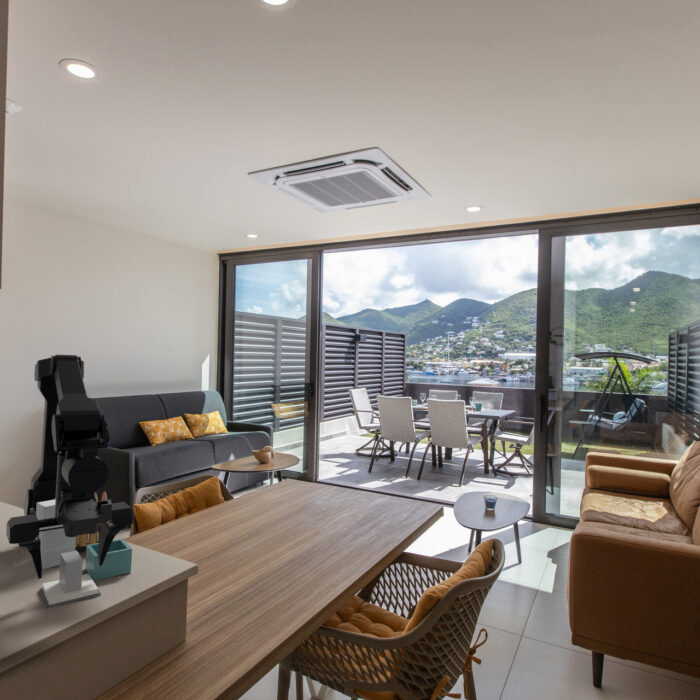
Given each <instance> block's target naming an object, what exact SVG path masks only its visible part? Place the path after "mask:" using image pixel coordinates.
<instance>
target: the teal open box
mask: <svg viewBox="0 0 700 700" xmlns="http://www.w3.org/2000/svg"><path fill="white" fill-rule="evenodd" d="M98 549H99V543H95V544H90V545H86V552H85V569H84V570H85V571H86V572H87V574H89V575H90V577H91V578H92V580H93V581H94V582H95V581H99V580H100V579H101V580H104V578H105V579H109V578H108V577H110V578H113V577H112V576H114V577H118V576H117V575H119V576H122V575H121V574H123V575H127V574H131V573H132V558H133V557H132V556H133V555H132V554H133V548H132V547H131V546H130V545H129V544H128V543H127V541H125V540H124V539H123V538H118V539H113V541H112V543H111V545H110V547H109V550H108V552H107V555H106V557H105V559H104V562H103V564H102V566H99V565H98ZM130 572H131V573H130ZM126 573H127V574H126ZM101 580H100V581H101Z"/></svg>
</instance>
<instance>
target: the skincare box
mask: <svg viewBox="0 0 700 700" xmlns="http://www.w3.org/2000/svg"><path fill="white" fill-rule="evenodd" d="M55 500H56V499H55ZM55 500H49V501H44V502H38V503H37V504H36V517H37V519H38V520H42V519H49V518H55ZM38 537H39V539H40V541H41V547H40V549H41V561H42V571H44V570H47V569H50V568H51V569H52V568H55V567H57V566H60V556H61V553H67V552H72V551H75V540H76V537H67V536H66V535H65V533H64V528H61V529H54V530H48V531H42V532H39V536H38Z"/></svg>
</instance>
